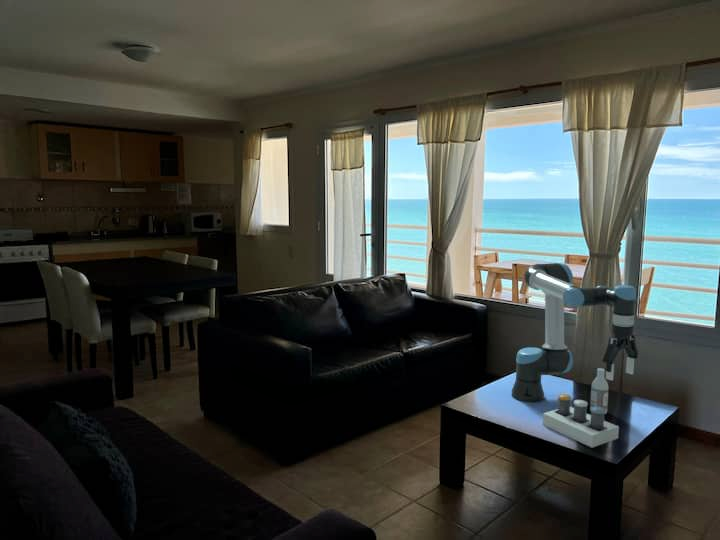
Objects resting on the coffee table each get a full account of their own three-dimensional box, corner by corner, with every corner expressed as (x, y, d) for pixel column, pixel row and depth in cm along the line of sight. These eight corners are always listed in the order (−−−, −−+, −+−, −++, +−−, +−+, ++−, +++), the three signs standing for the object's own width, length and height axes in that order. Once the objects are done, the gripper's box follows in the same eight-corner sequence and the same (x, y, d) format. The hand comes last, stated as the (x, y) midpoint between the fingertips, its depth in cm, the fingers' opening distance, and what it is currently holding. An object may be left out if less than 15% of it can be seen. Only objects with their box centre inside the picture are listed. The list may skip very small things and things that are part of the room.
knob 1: (554, 413, 219) (555, 395, 218) (562, 410, 222) (563, 392, 221) (564, 417, 215) (565, 399, 214) (572, 414, 217) (573, 396, 216)
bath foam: (601, 416, 226) (603, 372, 224) (586, 411, 232) (589, 368, 230) (610, 412, 230) (612, 369, 228) (595, 407, 236) (598, 365, 233)
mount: (542, 424, 218) (543, 413, 218) (568, 416, 226) (568, 406, 225) (591, 447, 198) (592, 435, 197) (618, 438, 205) (618, 426, 205)
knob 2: (570, 419, 212) (571, 401, 211) (578, 417, 215) (579, 399, 214) (580, 424, 208) (581, 405, 207) (589, 421, 210) (590, 403, 209)
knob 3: (586, 427, 205) (588, 408, 204) (595, 424, 208) (596, 405, 207) (598, 432, 201) (599, 412, 200) (606, 429, 203) (608, 410, 202)
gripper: (612, 330, 193) (609, 385, 196) (650, 322, 206) (646, 373, 209) (594, 326, 199) (591, 379, 202) (632, 319, 212) (628, 368, 215)
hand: (619, 376), depth 205 cm, fingers open, 13 cm apart
